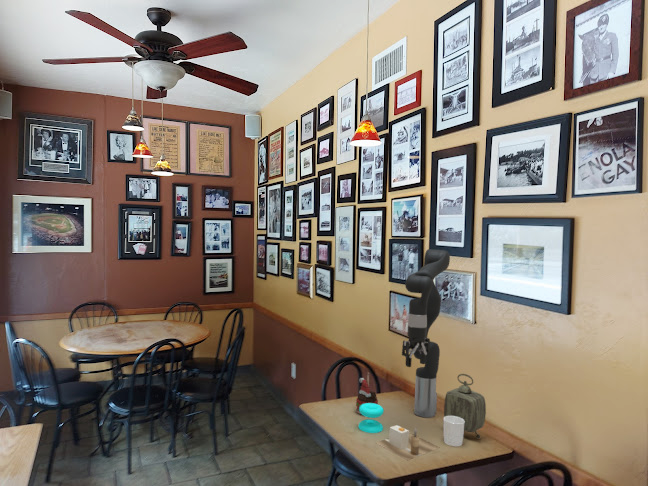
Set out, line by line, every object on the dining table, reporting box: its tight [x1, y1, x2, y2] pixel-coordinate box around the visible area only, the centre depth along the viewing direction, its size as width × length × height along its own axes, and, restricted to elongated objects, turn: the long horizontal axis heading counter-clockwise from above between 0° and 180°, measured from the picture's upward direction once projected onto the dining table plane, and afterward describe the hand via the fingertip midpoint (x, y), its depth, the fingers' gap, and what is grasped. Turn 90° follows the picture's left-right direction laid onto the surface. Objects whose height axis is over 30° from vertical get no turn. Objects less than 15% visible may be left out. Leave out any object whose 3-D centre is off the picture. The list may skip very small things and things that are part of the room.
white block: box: [388, 425, 410, 449], centre depth 165 cm, size 4×6×7 cm, turn 38°
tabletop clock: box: [443, 373, 487, 439], centre depth 179 cm, size 14×9×25 cm, turn 43°
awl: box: [411, 427, 420, 455], centre depth 159 cm, size 3×3×9 cm
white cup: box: [442, 416, 465, 447], centre depth 170 cm, size 8×8×10 cm
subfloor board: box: [375, 432, 440, 461], centre depth 166 cm, size 18×16×1 cm
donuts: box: [358, 403, 385, 434], centre depth 180 cm, size 10×10×10 cm
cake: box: [355, 372, 379, 415], centre depth 199 cm, size 11×9×18 cm
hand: (415, 365), depth 178 cm, fingers open, 8 cm apart
